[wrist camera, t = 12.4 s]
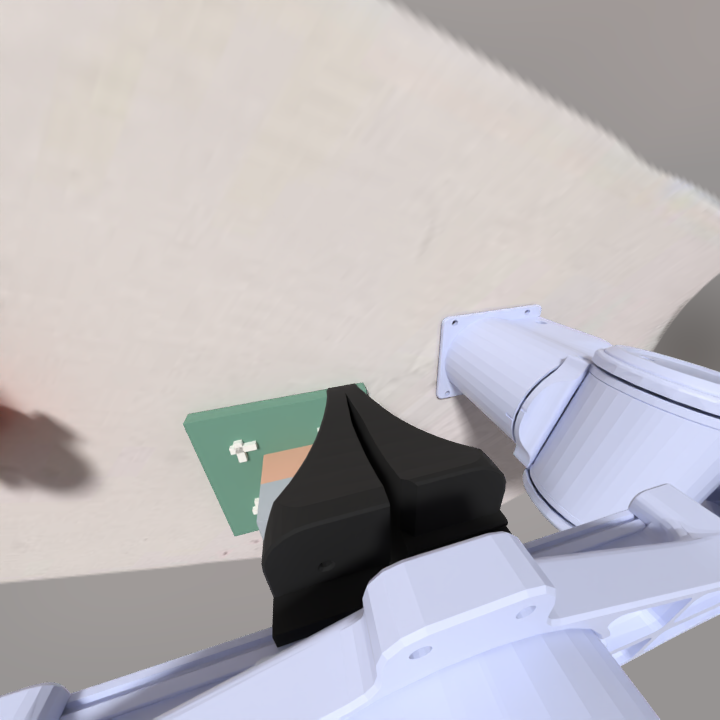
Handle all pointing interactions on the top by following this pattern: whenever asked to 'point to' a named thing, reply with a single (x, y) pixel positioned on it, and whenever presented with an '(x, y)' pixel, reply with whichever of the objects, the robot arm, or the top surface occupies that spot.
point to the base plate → (251, 446)
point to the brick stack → (277, 479)
